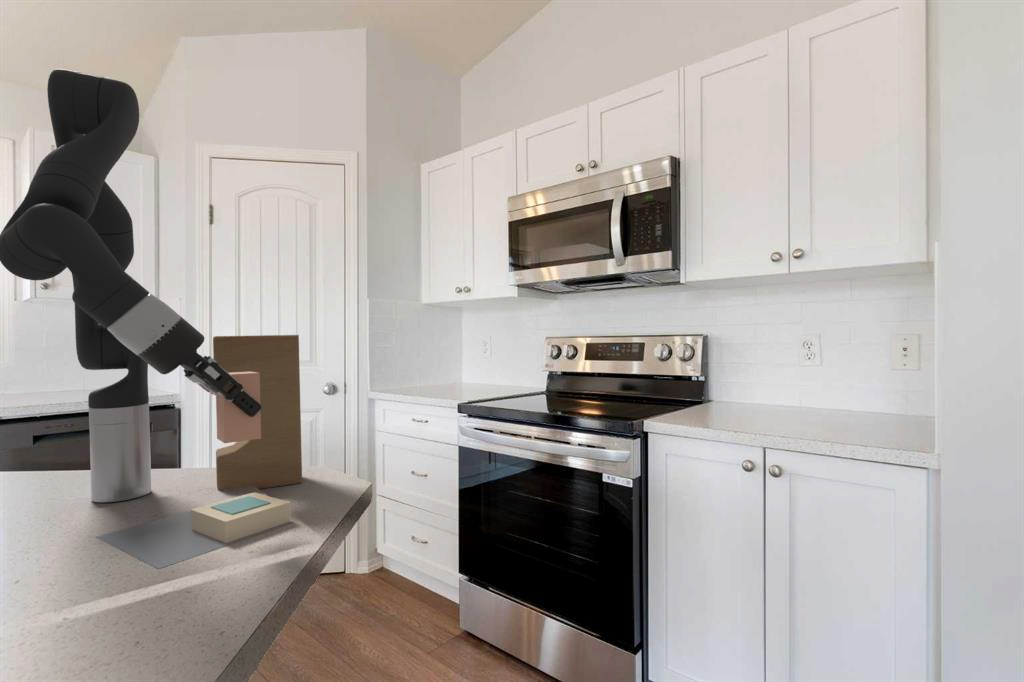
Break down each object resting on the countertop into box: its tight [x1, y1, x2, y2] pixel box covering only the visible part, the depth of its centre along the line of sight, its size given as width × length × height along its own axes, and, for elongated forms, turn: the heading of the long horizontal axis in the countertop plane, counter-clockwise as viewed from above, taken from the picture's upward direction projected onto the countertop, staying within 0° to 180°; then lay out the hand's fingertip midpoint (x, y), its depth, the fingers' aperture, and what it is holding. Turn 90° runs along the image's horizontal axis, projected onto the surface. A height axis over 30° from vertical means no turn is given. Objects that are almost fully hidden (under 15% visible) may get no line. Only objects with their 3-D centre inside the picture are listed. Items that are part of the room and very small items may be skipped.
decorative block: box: [212, 334, 303, 491], centre depth 107 cm, size 15×8×30 cm, turn 120°
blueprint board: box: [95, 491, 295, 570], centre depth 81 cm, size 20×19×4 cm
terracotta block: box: [215, 371, 261, 444], centre depth 82 cm, size 5×5×10 cm
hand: (251, 410), depth 83 cm, fingers closed on terracotta block, 5 cm apart
